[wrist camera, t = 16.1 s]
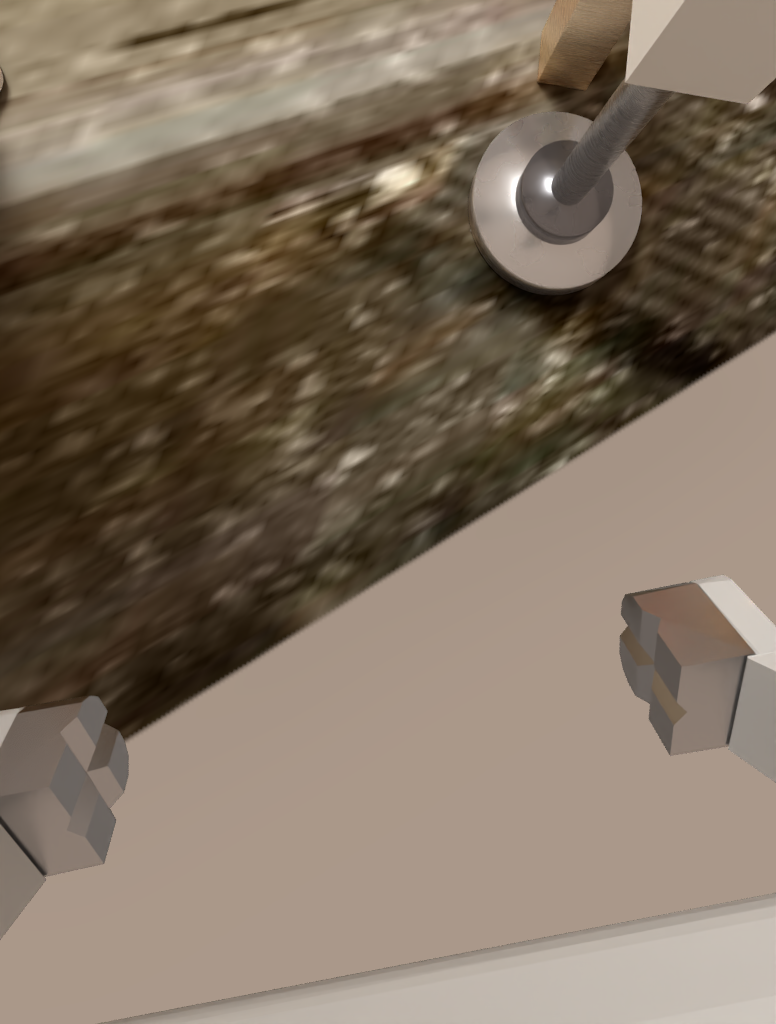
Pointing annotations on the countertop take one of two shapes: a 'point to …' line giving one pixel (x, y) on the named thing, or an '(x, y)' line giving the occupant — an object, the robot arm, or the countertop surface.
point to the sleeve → (703, 47)
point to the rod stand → (565, 166)
